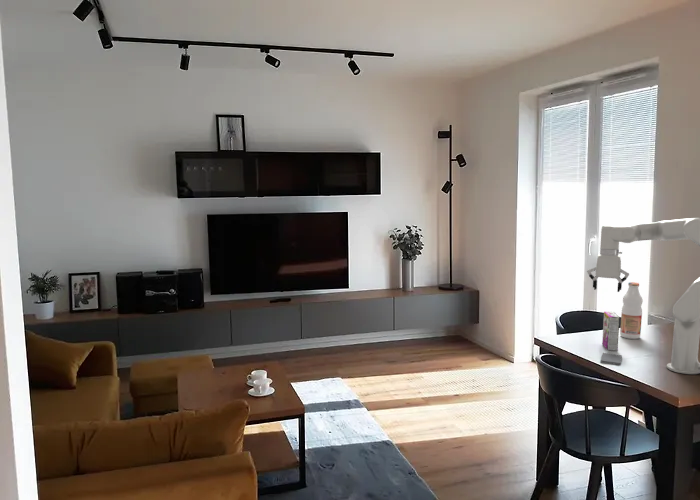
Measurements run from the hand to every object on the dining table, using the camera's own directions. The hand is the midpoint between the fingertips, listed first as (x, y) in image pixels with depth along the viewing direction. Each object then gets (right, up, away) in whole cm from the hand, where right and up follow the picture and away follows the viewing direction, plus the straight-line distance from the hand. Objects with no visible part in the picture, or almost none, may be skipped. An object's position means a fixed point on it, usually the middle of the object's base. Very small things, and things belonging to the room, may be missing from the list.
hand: (606, 290), depth 262 cm
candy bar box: (+9, -29, +17) cm, 34 cm away
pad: (+1, -31, -3) cm, 31 cm away
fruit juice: (+28, -27, +37) cm, 53 cm away
